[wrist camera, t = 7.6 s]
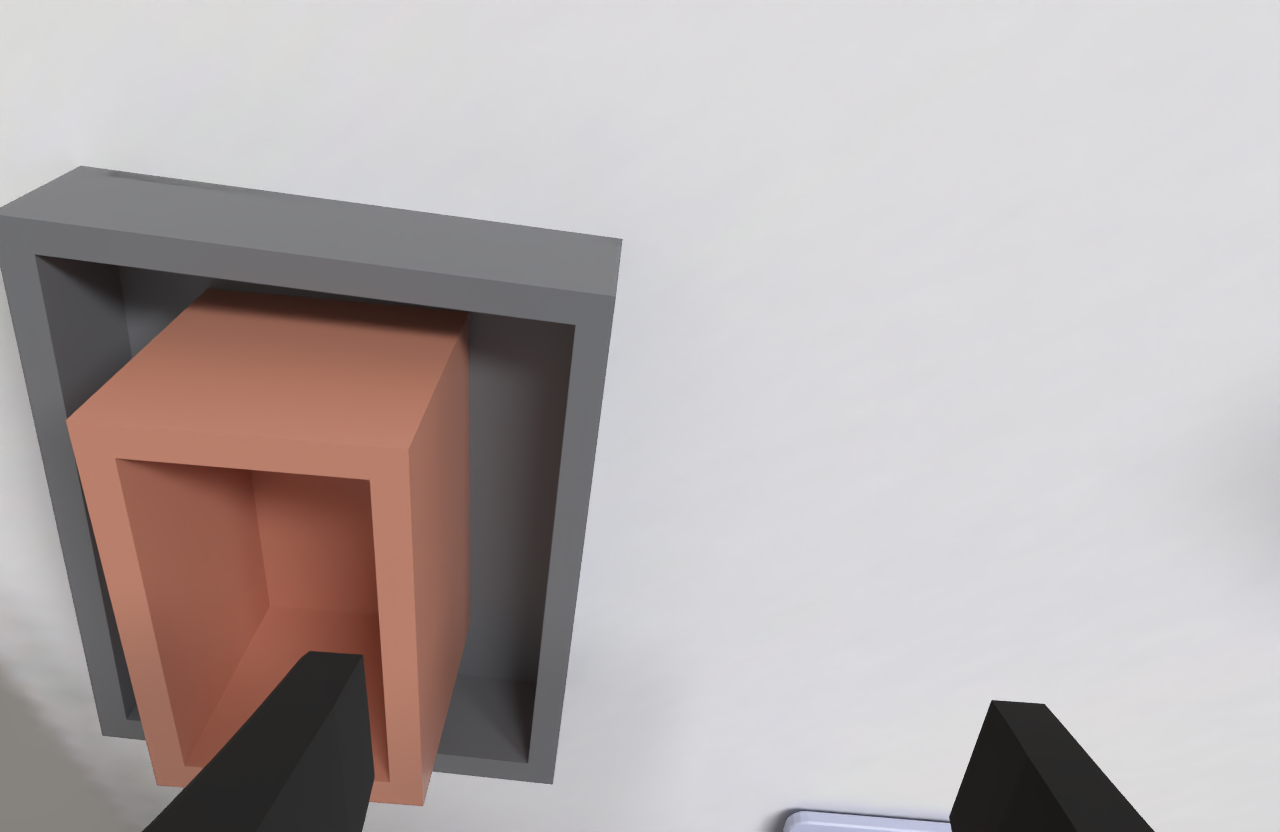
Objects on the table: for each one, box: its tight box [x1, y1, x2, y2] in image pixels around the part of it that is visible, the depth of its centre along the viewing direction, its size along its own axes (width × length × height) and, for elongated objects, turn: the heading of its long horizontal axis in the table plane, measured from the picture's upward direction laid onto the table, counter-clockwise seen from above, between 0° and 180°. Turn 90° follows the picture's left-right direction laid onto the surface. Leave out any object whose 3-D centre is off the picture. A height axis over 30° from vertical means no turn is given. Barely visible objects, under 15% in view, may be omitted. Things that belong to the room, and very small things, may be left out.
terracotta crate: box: [66, 289, 470, 806], centre depth 18 cm, size 8×5×5 cm, turn 175°
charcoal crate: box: [0, 166, 622, 784], centre depth 20 cm, size 12×10×3 cm
